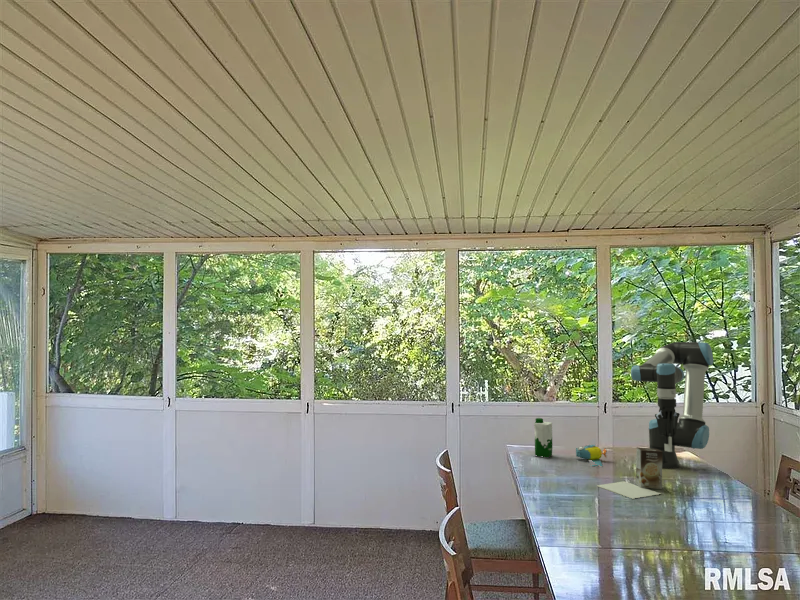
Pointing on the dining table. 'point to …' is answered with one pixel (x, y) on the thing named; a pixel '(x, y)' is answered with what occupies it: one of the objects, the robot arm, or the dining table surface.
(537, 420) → the milk carton
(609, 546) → the dining table surface
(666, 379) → the robot arm
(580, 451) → the yellow teal toy
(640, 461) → the coffee box
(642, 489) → the mat
